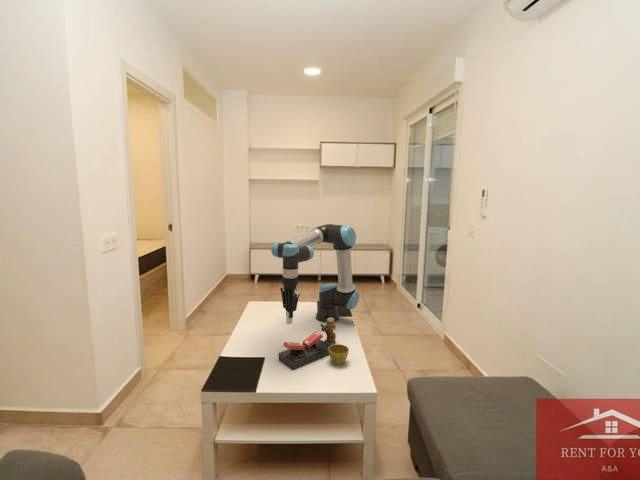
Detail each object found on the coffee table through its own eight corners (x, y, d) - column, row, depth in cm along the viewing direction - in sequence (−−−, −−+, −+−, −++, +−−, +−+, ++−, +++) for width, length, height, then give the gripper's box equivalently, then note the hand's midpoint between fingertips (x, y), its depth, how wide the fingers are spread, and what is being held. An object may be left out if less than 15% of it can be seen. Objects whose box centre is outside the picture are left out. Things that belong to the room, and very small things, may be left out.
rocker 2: (316, 334, 184) (315, 330, 184) (322, 337, 181) (322, 334, 180) (302, 344, 179) (301, 341, 178) (309, 348, 175) (308, 345, 174)
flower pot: (328, 356, 175) (328, 343, 174) (347, 357, 175) (348, 344, 174) (327, 367, 165) (328, 353, 164) (348, 367, 165) (349, 354, 164)
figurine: (338, 341, 193) (339, 316, 191) (333, 346, 186) (334, 320, 184) (323, 338, 197) (324, 313, 194) (318, 343, 190) (318, 317, 188)
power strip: (317, 345, 188) (318, 335, 187) (332, 353, 179) (333, 343, 178) (278, 360, 171) (278, 350, 170) (293, 370, 162) (293, 359, 161)
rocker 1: (298, 346, 177) (299, 342, 177) (304, 350, 173) (305, 346, 173) (283, 345, 170) (284, 341, 170) (289, 349, 166) (290, 345, 166)
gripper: (276, 274, 166) (275, 321, 169) (292, 280, 156) (291, 329, 160) (288, 272, 171) (287, 317, 174) (304, 278, 161) (303, 325, 165)
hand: (289, 323), depth 167 cm, fingers closed
